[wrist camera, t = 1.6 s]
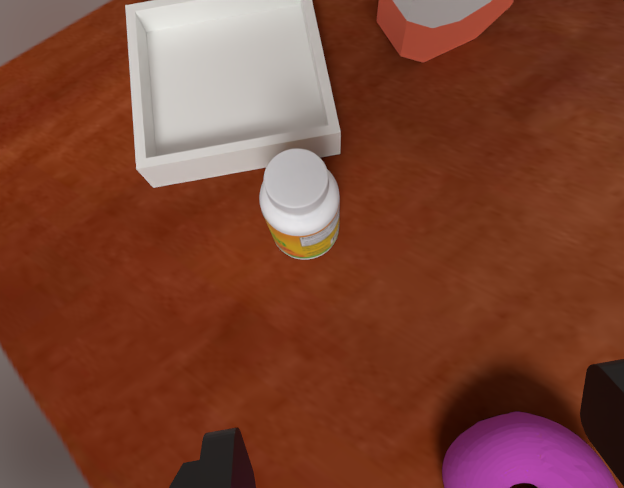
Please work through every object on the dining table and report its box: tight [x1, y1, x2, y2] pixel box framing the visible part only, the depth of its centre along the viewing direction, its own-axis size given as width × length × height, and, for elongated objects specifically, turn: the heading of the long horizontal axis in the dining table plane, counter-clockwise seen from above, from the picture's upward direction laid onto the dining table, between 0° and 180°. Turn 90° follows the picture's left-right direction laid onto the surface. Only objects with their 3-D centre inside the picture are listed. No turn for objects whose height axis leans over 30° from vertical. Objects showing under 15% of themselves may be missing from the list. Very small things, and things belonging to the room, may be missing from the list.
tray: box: [125, 0, 341, 188], centre depth 40 cm, size 16×16×4 cm
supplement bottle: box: [259, 149, 340, 259], centre depth 33 cm, size 5×5×10 cm
